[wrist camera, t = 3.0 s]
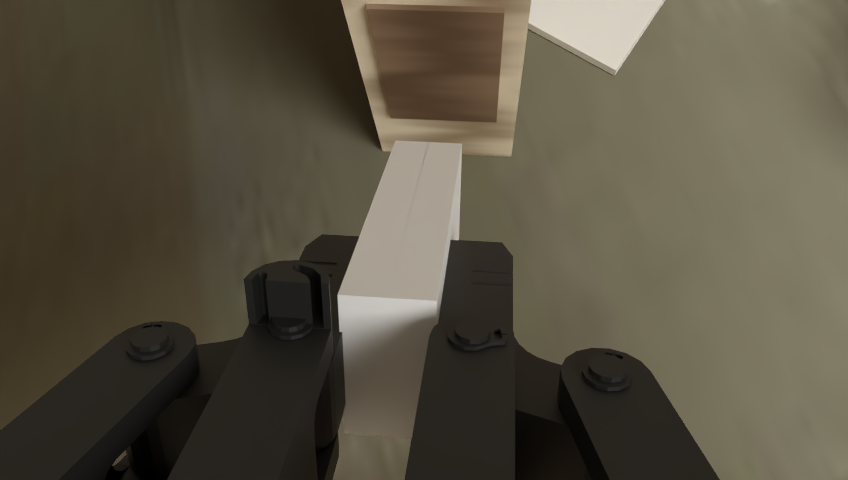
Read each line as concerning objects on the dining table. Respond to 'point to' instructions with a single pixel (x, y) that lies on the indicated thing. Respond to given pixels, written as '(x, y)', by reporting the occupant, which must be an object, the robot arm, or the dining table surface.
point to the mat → (594, 27)
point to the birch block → (442, 69)
